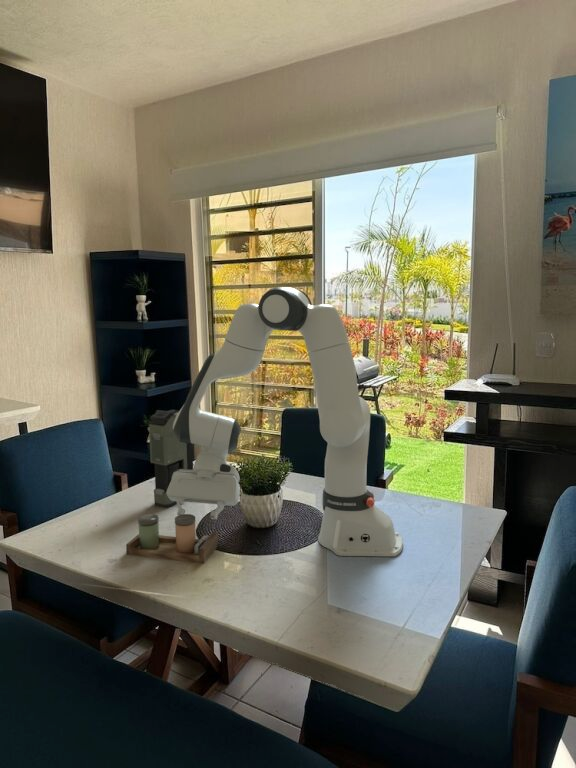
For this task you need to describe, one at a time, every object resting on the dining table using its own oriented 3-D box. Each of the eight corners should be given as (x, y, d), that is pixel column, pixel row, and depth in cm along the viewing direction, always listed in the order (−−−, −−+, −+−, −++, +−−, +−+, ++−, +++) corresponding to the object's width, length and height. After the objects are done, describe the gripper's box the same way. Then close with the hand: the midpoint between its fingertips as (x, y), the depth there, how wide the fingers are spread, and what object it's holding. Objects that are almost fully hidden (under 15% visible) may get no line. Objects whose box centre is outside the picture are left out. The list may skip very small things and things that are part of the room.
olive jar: (163, 544, 144) (162, 515, 143) (154, 552, 139) (152, 523, 138) (145, 542, 145) (143, 513, 144) (135, 550, 140) (134, 521, 139)
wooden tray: (218, 546, 143) (218, 532, 143) (204, 564, 134) (203, 549, 133) (145, 538, 148) (144, 525, 147) (126, 555, 138) (125, 540, 138)
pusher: (211, 547, 142) (210, 536, 141) (201, 558, 136) (201, 546, 135) (204, 546, 142) (204, 535, 142) (194, 558, 136) (194, 546, 136)
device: (167, 509, 169) (164, 414, 165) (149, 504, 173) (145, 412, 168) (196, 495, 181) (194, 407, 177) (179, 491, 185) (176, 404, 180)
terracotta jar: (199, 547, 142) (198, 515, 141) (191, 556, 137) (190, 523, 136) (180, 545, 143) (179, 513, 142) (172, 554, 138) (171, 521, 137)
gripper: (171, 463, 154) (157, 509, 146) (240, 468, 150) (229, 515, 142) (178, 473, 159) (164, 518, 151) (245, 478, 155) (235, 524, 147)
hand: (196, 517), depth 146 cm, fingers open, 8 cm apart
